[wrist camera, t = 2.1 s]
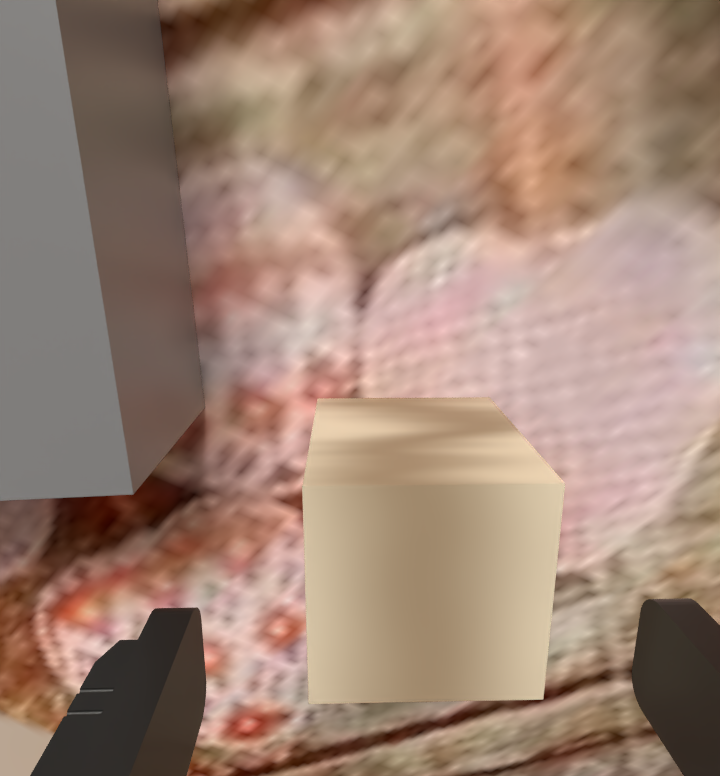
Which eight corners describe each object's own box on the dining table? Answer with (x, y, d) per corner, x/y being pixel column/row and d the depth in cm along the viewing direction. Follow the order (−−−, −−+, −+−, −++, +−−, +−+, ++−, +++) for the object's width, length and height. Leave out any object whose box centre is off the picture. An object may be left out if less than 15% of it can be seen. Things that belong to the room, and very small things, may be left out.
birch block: (488, 396, 17) (565, 483, 11) (479, 549, 18) (543, 699, 12) (317, 397, 17) (302, 486, 11) (320, 551, 18) (308, 703, 12)
